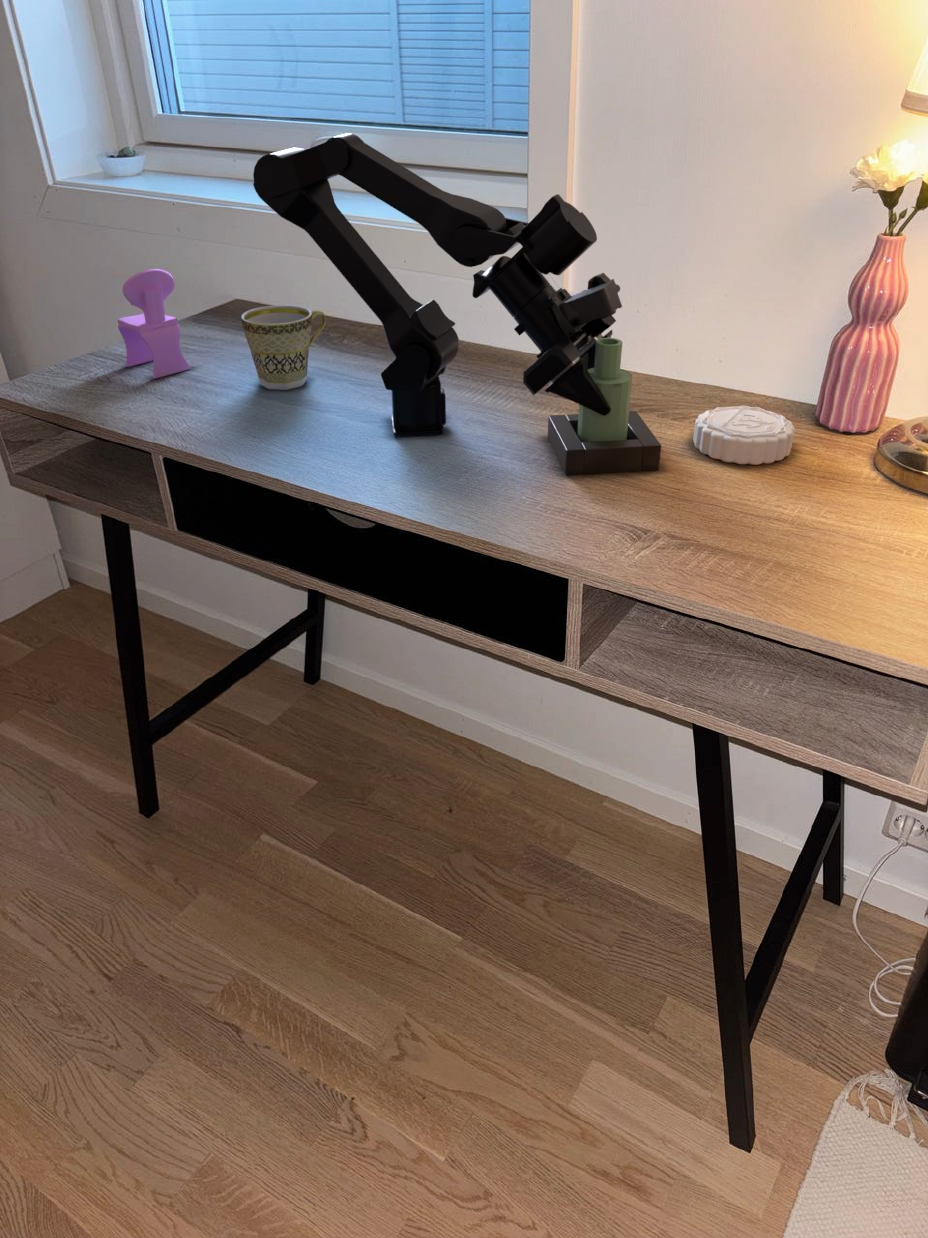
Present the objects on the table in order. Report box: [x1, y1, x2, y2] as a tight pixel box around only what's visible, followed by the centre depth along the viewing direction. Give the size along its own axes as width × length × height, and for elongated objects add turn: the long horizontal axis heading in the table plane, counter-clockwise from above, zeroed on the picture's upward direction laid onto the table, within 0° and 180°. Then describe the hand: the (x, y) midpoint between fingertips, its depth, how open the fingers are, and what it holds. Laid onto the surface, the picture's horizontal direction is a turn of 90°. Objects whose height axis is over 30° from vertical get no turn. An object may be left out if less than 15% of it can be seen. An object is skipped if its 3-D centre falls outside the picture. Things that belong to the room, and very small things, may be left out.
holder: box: [547, 410, 662, 476], centre depth 120 cm, size 11×11×3 cm
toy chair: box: [116, 268, 191, 379], centre depth 147 cm, size 8×9×15 cm
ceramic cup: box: [240, 304, 327, 391], centre depth 142 cm, size 13×10×10 cm
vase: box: [577, 337, 633, 442], centre depth 117 cm, size 6×6×14 cm
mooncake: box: [692, 405, 796, 466], centre depth 122 cm, size 12×12×4 cm
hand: (615, 404), depth 117 cm, fingers closed on vase, 6 cm apart
